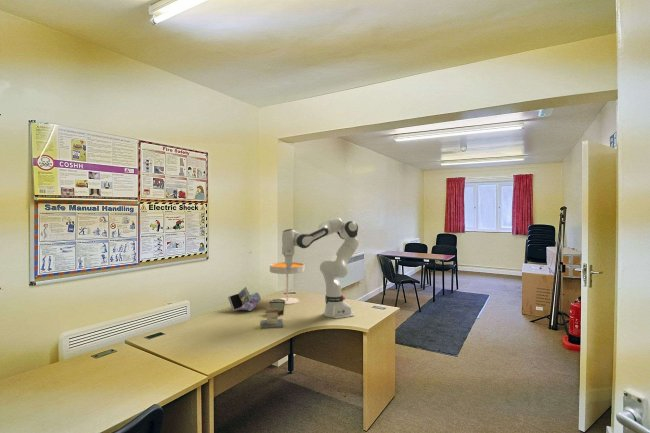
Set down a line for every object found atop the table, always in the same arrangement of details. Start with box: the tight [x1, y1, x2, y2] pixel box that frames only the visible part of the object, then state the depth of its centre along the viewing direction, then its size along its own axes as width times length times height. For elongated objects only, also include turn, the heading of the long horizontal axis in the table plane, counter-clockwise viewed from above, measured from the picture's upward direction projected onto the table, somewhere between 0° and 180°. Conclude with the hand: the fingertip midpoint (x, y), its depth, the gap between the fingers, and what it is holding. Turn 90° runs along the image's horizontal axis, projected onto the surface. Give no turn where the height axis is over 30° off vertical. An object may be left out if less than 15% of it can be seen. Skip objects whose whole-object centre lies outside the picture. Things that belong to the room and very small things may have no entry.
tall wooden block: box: [265, 308, 279, 324], centre depth 222 cm, size 5×9×9 cm, turn 100°
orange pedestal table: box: [269, 261, 306, 306], centre depth 279 cm, size 30×30×31 cm
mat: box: [260, 318, 284, 330], centre depth 222 cm, size 14×14×1 cm
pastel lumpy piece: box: [227, 286, 262, 312], centre depth 256 cm, size 20×22×18 cm
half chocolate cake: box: [268, 298, 285, 316], centre depth 246 cm, size 12×6×10 cm, turn 84°
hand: (288, 270), depth 239 cm, fingers open, 8 cm apart
